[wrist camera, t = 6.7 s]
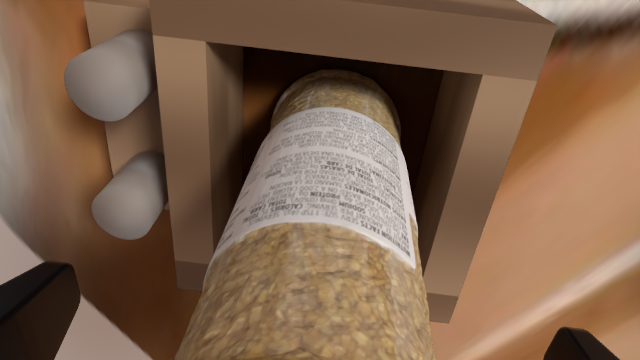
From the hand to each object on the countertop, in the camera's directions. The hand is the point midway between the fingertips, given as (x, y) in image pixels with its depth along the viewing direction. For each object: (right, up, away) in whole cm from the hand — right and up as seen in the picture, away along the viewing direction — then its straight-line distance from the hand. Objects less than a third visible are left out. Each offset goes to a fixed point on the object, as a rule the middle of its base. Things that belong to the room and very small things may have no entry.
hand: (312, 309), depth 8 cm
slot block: (-1, +5, +7) cm, 9 cm away
